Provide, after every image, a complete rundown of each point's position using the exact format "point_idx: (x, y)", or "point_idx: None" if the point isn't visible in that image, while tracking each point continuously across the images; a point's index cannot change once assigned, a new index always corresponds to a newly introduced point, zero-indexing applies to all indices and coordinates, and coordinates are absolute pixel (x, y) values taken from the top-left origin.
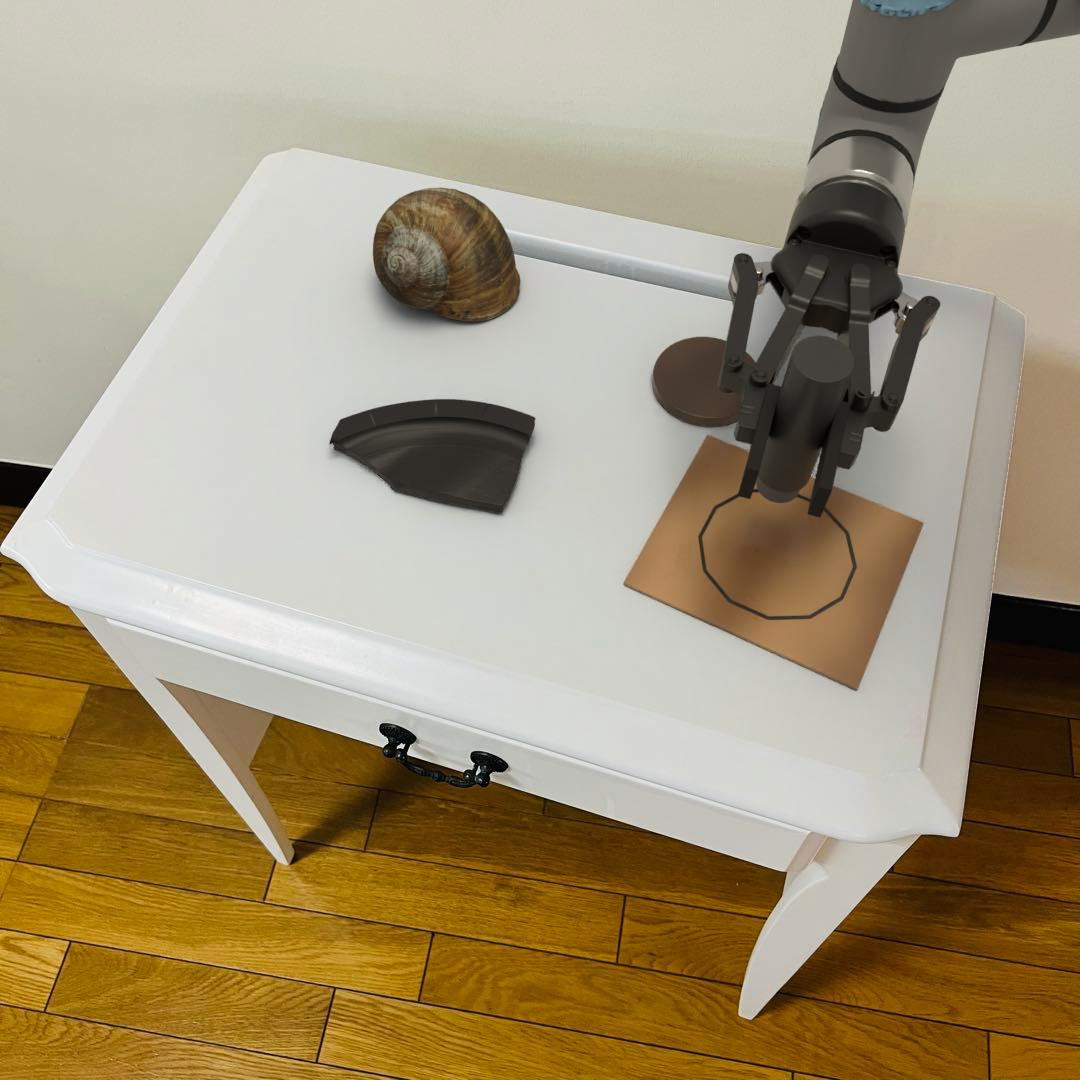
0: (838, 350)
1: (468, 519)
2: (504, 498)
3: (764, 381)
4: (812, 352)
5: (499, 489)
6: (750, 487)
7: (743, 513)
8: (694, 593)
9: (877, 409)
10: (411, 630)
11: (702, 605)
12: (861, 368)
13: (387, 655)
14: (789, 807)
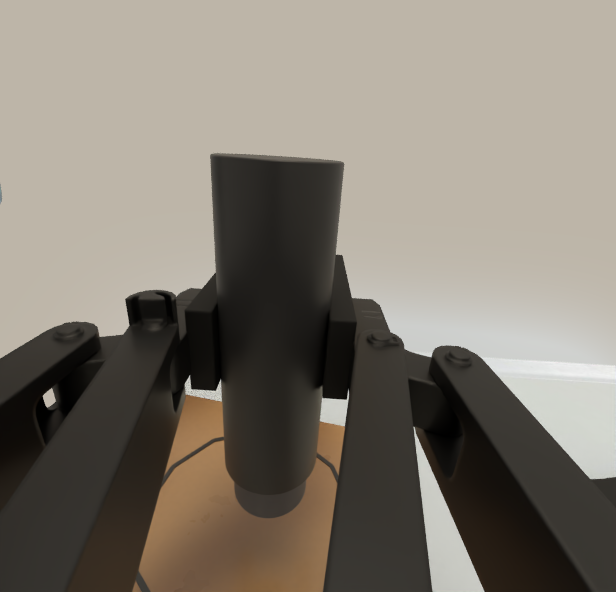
0: (244, 156)
1: (599, 478)
2: None
3: (366, 331)
4: (302, 159)
5: (613, 500)
6: None
7: (302, 567)
8: (334, 441)
9: (115, 338)
10: (524, 383)
11: (323, 431)
12: (117, 381)
13: (520, 369)
14: None
